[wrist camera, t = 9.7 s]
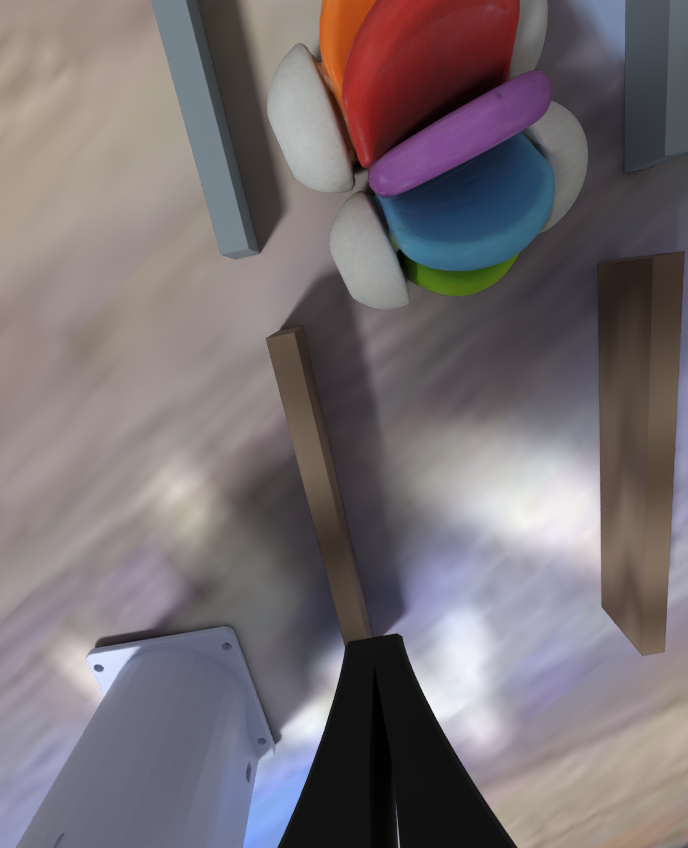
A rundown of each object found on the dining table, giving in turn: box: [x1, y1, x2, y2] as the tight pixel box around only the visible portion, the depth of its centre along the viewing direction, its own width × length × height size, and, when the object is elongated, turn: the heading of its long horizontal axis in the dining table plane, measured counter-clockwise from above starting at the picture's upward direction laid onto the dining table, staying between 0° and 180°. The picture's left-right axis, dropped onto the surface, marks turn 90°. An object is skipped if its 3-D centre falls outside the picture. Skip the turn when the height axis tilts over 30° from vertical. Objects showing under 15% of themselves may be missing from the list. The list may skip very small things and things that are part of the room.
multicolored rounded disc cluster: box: [267, 0, 588, 309], centre depth 12 cm, size 8×10×7 cm
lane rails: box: [266, 251, 685, 656], centre depth 18 cm, size 17×14×3 cm
